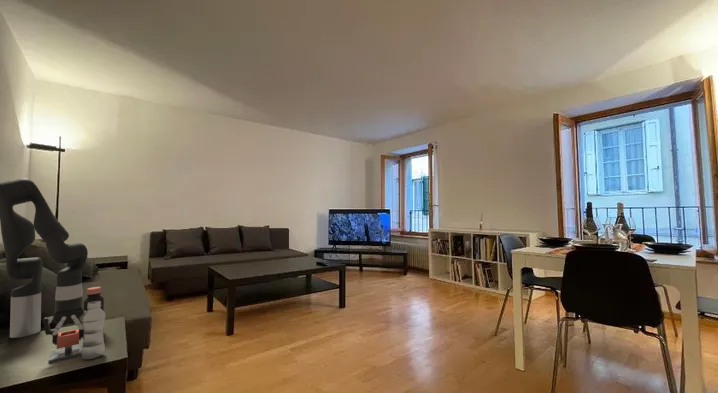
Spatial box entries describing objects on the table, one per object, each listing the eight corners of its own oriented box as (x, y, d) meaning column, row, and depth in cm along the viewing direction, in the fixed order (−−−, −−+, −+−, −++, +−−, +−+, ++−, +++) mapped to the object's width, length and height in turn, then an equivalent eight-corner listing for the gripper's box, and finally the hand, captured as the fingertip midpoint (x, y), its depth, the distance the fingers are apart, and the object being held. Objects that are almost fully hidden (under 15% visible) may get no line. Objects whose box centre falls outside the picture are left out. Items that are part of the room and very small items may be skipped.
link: (56, 349, 113) (56, 337, 113) (57, 343, 117) (57, 332, 117) (78, 344, 117) (79, 333, 117) (79, 339, 121) (79, 328, 121)
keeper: (50, 353, 117) (51, 335, 117) (85, 345, 124) (86, 328, 124) (48, 363, 110) (48, 343, 110) (86, 354, 116) (86, 335, 117)
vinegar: (104, 334, 135) (104, 288, 136) (83, 339, 131) (84, 291, 131) (102, 329, 140) (103, 285, 141) (82, 334, 135) (83, 288, 136)
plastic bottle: (85, 355, 116) (86, 301, 116) (108, 352, 118) (108, 299, 119) (77, 363, 110) (78, 306, 110) (100, 359, 112) (101, 303, 113)
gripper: (41, 302, 110) (40, 351, 109) (94, 294, 119) (93, 339, 119) (43, 298, 116) (42, 344, 115) (93, 291, 125) (93, 333, 125)
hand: (68, 341), depth 117 cm, fingers closed on link, 6 cm apart
